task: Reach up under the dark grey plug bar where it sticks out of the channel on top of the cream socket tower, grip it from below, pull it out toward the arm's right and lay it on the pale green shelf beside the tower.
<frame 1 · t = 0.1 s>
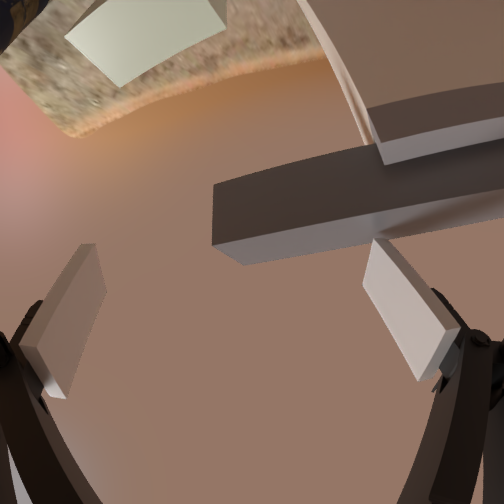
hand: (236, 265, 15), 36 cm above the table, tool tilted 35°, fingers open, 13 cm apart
plug bar: (404, 158, 14), point 32 cm above the table, touching gripper, socket tower
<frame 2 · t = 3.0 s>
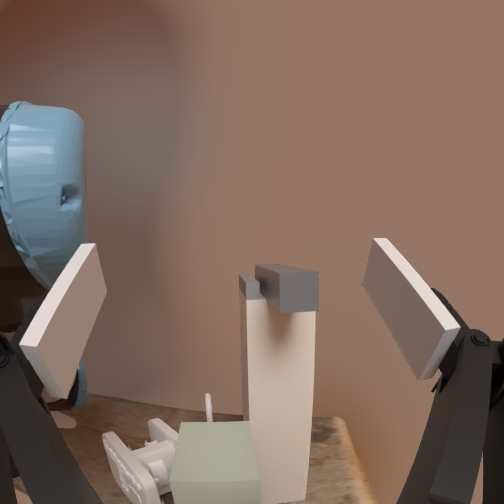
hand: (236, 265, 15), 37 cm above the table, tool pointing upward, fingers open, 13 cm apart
plug bar: (279, 297, 38), point 32 cm above the table, touching socket tower
socket tower: (272, 477, 43), on the table
hook: (212, 447, 53), on the table
cable organizer: (160, 498, 36), on the table
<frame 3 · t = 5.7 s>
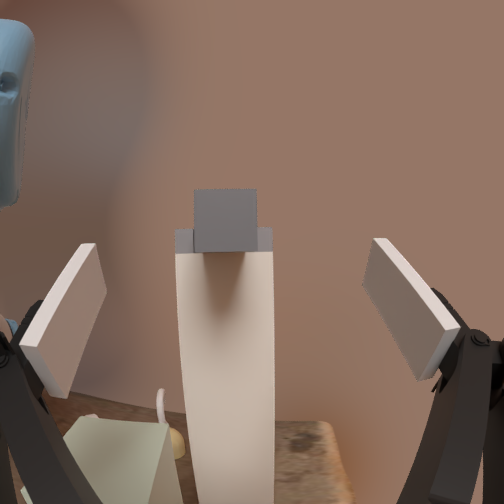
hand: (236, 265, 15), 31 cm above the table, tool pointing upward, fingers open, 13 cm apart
plug bar: (223, 252, 28), point 32 cm above the table, touching socket tower
socket tower: (235, 495, 33), on the table
hook: (169, 453, 43), on the table
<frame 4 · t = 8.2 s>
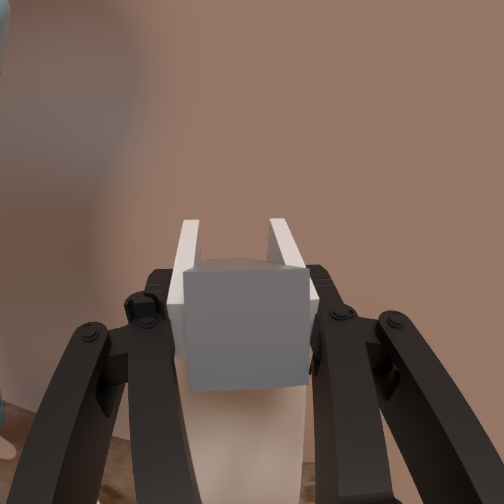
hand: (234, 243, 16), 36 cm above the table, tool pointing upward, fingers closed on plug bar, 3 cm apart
plug bar: (234, 320, 19), point 32 cm above the table, touching gripper, socket tower
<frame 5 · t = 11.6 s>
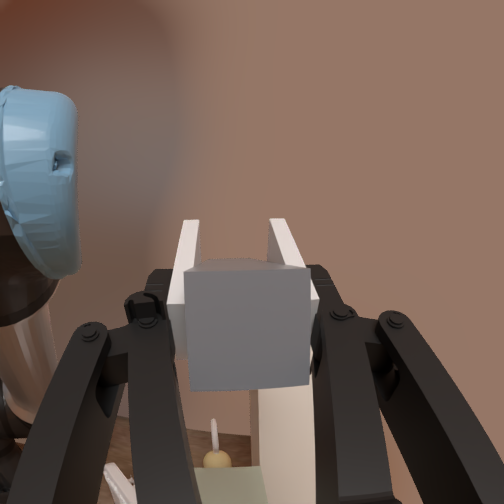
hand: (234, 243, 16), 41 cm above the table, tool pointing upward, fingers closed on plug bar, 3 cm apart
plug bar: (234, 320, 19), point 36 cm above the table, touching gripper
hook: (218, 472, 49), on the table
when the fingers open (26 cm above the table, at t = 14.8 s): plug bar drops 2 cm, resting on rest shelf.
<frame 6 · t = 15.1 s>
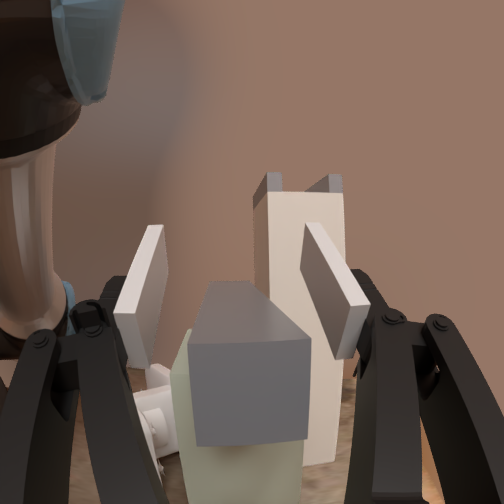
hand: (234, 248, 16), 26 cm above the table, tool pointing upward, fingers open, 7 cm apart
plug bar: (236, 352, 19), point 20 cm above the table, touching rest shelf
socket tower: (291, 438, 39), on the table
cable organizer: (156, 464, 32), on the table
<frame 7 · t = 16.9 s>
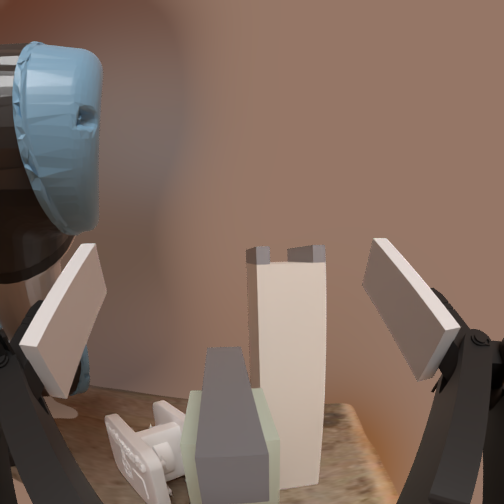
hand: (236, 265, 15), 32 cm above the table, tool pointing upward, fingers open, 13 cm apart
plug bar: (228, 421, 23), point 20 cm above the table, touching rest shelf
socket tower: (282, 462, 43), on the table
cable organizer: (165, 486, 36), on the table
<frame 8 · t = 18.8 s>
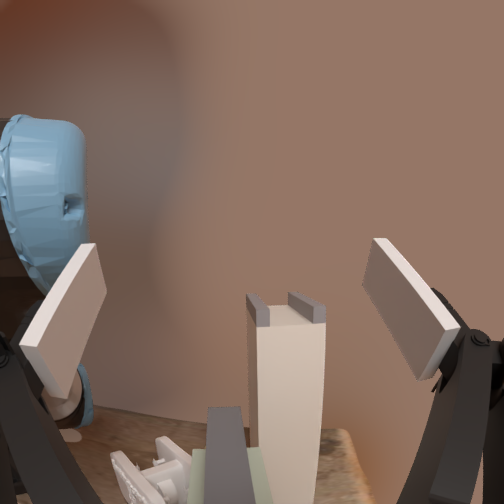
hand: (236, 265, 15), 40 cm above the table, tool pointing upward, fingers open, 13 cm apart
plug bar: (229, 487, 22), point 20 cm above the table, touching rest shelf
socket tower: (278, 491, 42), on the table
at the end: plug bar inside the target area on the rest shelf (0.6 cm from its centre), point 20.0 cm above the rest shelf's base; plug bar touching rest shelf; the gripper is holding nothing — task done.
